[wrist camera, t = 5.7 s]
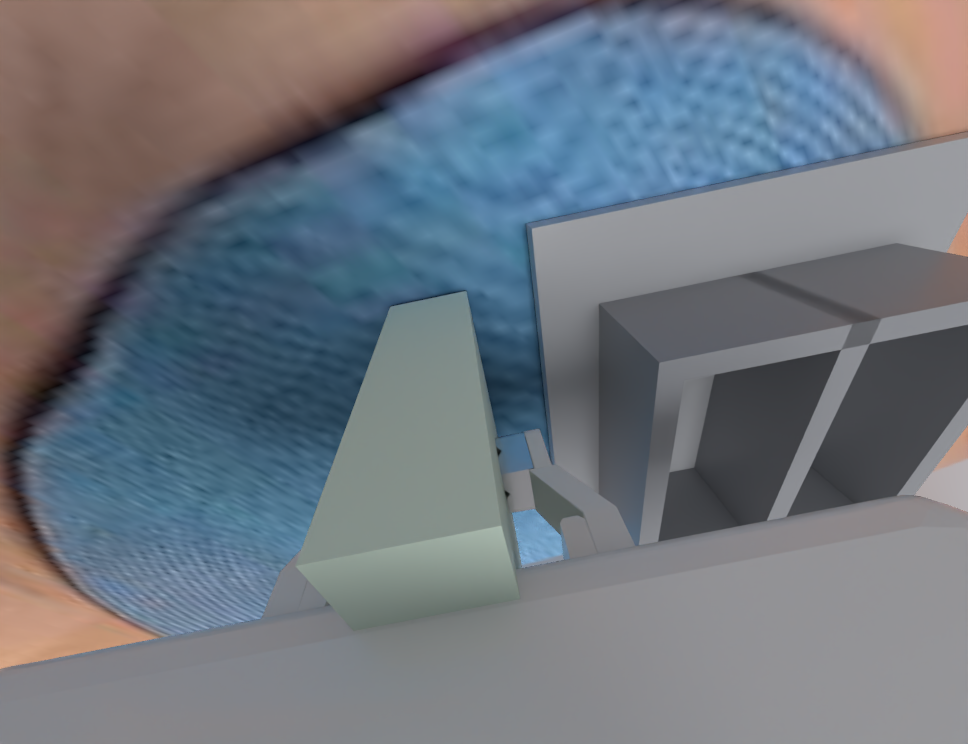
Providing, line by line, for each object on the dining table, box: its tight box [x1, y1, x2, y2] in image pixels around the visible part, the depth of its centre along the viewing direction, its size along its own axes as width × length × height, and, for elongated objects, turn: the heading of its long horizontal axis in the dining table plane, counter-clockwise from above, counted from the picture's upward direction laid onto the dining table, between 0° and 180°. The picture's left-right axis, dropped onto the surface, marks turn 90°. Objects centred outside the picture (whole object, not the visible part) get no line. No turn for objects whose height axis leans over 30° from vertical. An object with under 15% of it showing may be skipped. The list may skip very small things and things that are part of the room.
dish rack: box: [526, 132, 968, 546], centre depth 15 cm, size 16×18×6 cm
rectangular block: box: [296, 291, 522, 631], centre depth 11 cm, size 3×8×10 cm, turn 10°
